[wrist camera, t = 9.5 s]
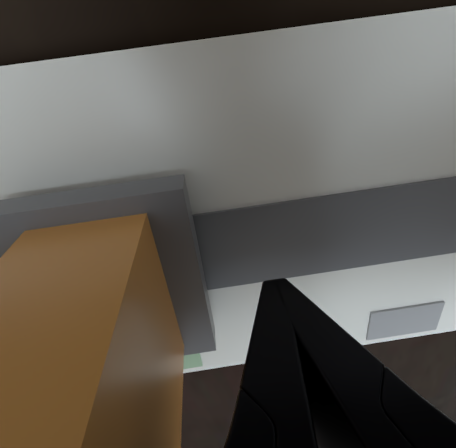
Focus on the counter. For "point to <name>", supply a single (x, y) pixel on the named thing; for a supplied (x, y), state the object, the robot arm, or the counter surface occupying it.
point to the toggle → (99, 315)
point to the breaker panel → (271, 161)
